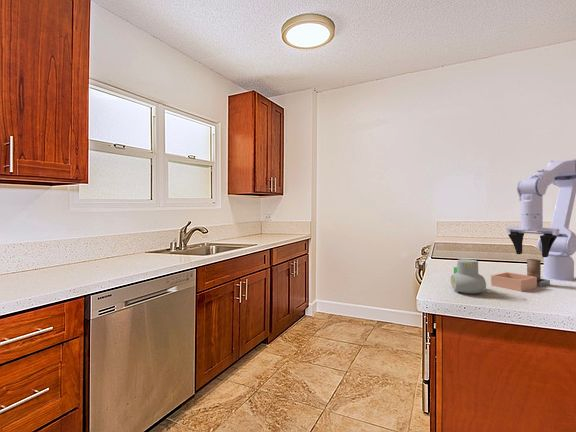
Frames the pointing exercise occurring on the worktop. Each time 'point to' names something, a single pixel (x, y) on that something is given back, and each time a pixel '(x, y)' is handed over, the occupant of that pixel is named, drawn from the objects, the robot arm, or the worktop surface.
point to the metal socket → (543, 283)
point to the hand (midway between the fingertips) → (531, 255)
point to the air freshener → (468, 277)
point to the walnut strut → (534, 268)
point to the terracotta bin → (514, 281)
